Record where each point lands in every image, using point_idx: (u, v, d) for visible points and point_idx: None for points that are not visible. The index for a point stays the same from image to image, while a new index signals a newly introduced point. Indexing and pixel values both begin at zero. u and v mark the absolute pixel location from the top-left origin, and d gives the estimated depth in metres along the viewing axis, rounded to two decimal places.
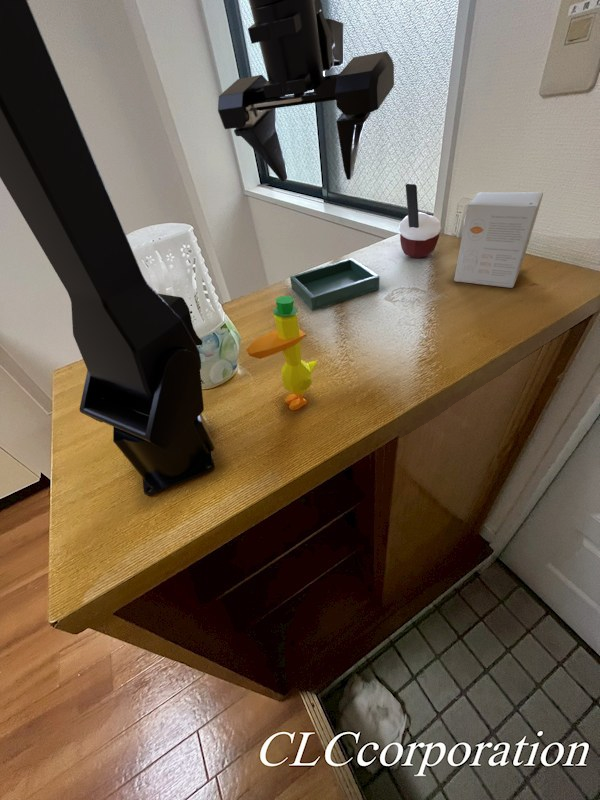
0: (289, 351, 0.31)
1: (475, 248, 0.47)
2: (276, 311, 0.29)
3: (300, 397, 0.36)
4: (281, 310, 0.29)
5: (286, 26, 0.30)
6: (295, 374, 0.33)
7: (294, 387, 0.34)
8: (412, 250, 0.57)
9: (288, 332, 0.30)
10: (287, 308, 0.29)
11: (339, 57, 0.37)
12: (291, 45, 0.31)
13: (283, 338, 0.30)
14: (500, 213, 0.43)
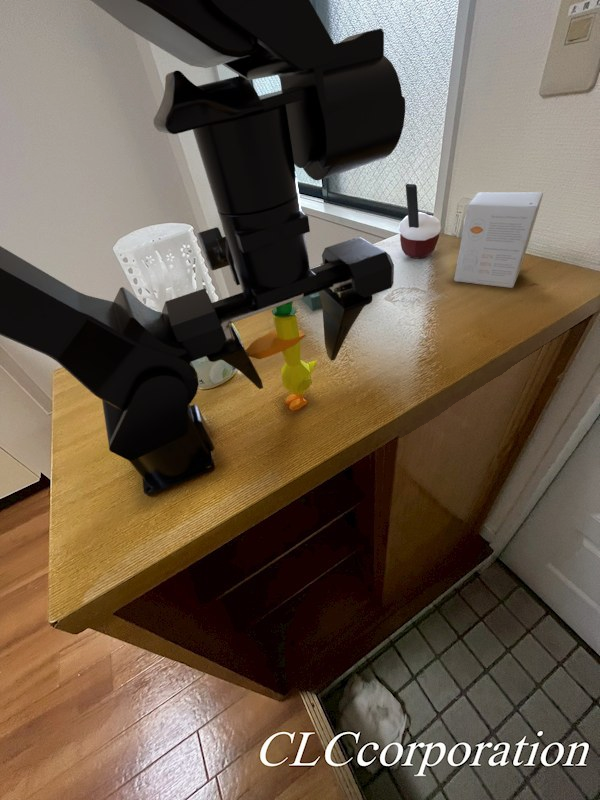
0: (288, 351, 0.31)
1: (475, 248, 0.47)
2: (275, 311, 0.29)
3: (300, 397, 0.36)
4: (280, 310, 0.29)
5: (297, 226, 0.23)
6: (295, 374, 0.33)
7: (294, 388, 0.34)
8: (412, 250, 0.57)
9: (287, 332, 0.30)
10: (286, 308, 0.29)
11: None
12: (297, 245, 0.24)
13: (282, 338, 0.30)
14: (500, 213, 0.43)
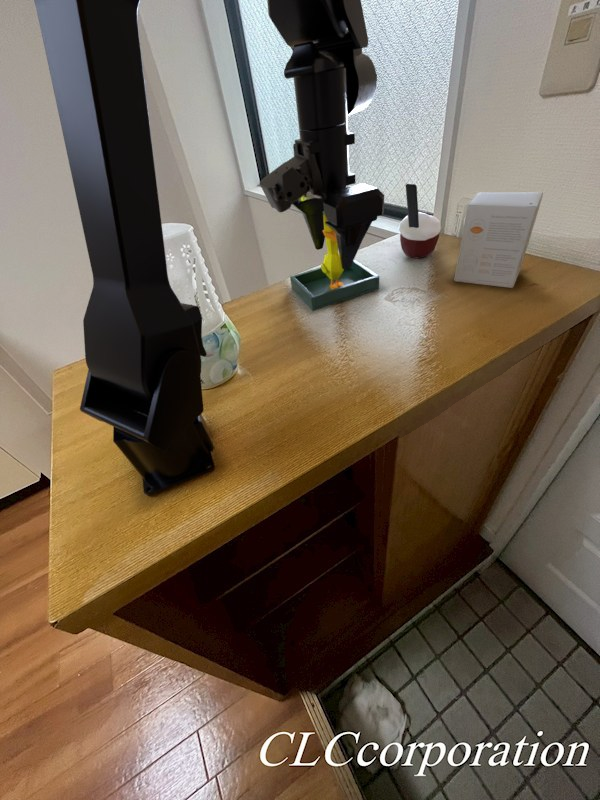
0: None
1: (475, 248, 0.47)
2: None
3: (338, 279, 0.53)
4: None
5: None
6: None
7: None
8: (412, 250, 0.57)
9: None
10: None
11: None
12: None
13: None
14: (500, 213, 0.43)
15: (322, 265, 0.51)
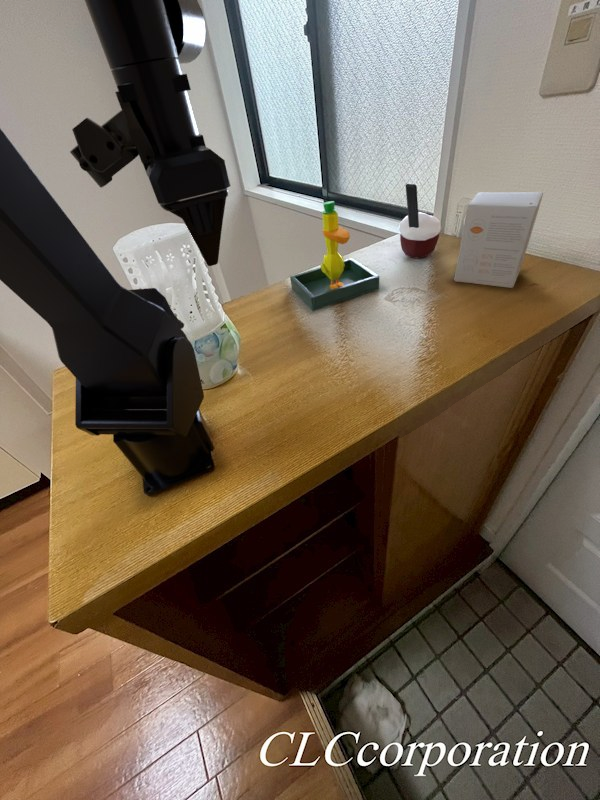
0: None
1: (475, 248, 0.47)
2: (331, 211, 0.46)
3: (338, 279, 0.53)
4: (333, 207, 0.46)
5: None
6: (340, 256, 0.50)
7: None
8: (412, 250, 0.57)
9: (337, 222, 0.47)
10: (333, 205, 0.46)
11: None
12: None
13: (337, 228, 0.47)
14: (500, 213, 0.43)
15: (322, 265, 0.51)
